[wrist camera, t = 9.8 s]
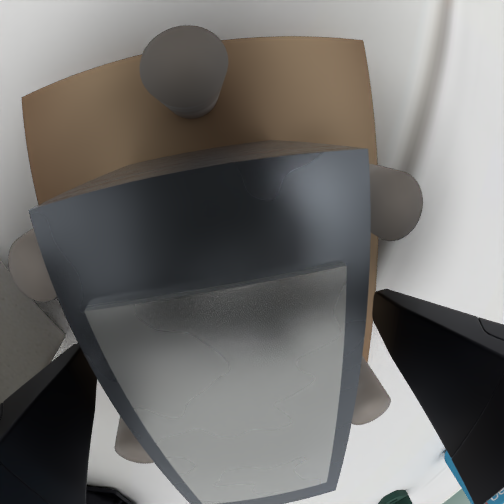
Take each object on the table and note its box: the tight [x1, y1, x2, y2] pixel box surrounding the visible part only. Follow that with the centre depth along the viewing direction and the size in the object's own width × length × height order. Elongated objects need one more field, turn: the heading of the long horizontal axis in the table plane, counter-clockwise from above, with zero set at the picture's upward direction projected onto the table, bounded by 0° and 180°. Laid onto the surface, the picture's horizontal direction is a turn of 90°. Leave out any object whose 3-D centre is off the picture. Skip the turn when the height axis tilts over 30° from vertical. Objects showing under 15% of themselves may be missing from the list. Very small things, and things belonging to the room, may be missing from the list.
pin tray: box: [8, 26, 423, 463], centre depth 9 cm, size 12×17×5 cm
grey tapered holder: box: [29, 140, 371, 504], centre depth 8 cm, size 4×10×6 cm, turn 7°
